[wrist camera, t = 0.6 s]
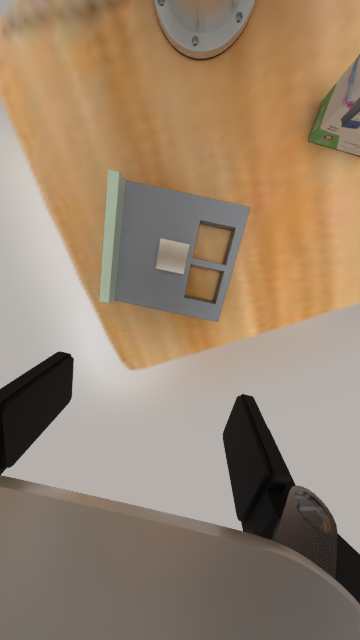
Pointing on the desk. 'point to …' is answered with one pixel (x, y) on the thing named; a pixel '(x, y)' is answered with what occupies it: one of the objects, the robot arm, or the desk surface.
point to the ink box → (340, 114)
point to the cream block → (172, 256)
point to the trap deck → (144, 239)
